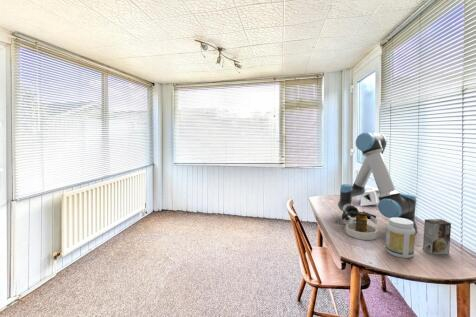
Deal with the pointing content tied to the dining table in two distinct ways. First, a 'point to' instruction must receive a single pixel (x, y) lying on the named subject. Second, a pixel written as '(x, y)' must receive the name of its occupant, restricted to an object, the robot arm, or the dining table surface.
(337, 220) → the grey square frame
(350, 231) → the bowl
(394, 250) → the supplement tub
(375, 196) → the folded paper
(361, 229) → the condiment
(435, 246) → the coffee box
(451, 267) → the dining table surface
